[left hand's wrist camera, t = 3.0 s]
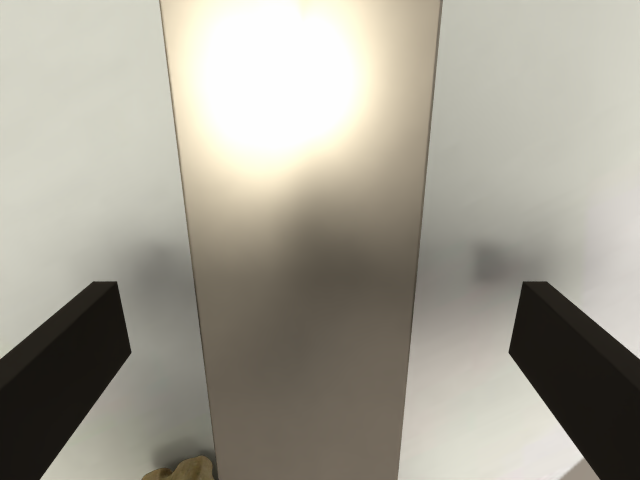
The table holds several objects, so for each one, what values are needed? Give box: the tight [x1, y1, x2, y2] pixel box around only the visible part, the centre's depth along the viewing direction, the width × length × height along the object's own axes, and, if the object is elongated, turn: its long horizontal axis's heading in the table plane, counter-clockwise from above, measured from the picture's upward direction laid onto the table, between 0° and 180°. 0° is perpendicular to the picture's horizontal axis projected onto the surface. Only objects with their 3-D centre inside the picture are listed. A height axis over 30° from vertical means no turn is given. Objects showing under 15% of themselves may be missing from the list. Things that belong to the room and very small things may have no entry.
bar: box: [159, 0, 443, 480], centre depth 10 cm, size 22×5×8 cm, turn 0°
